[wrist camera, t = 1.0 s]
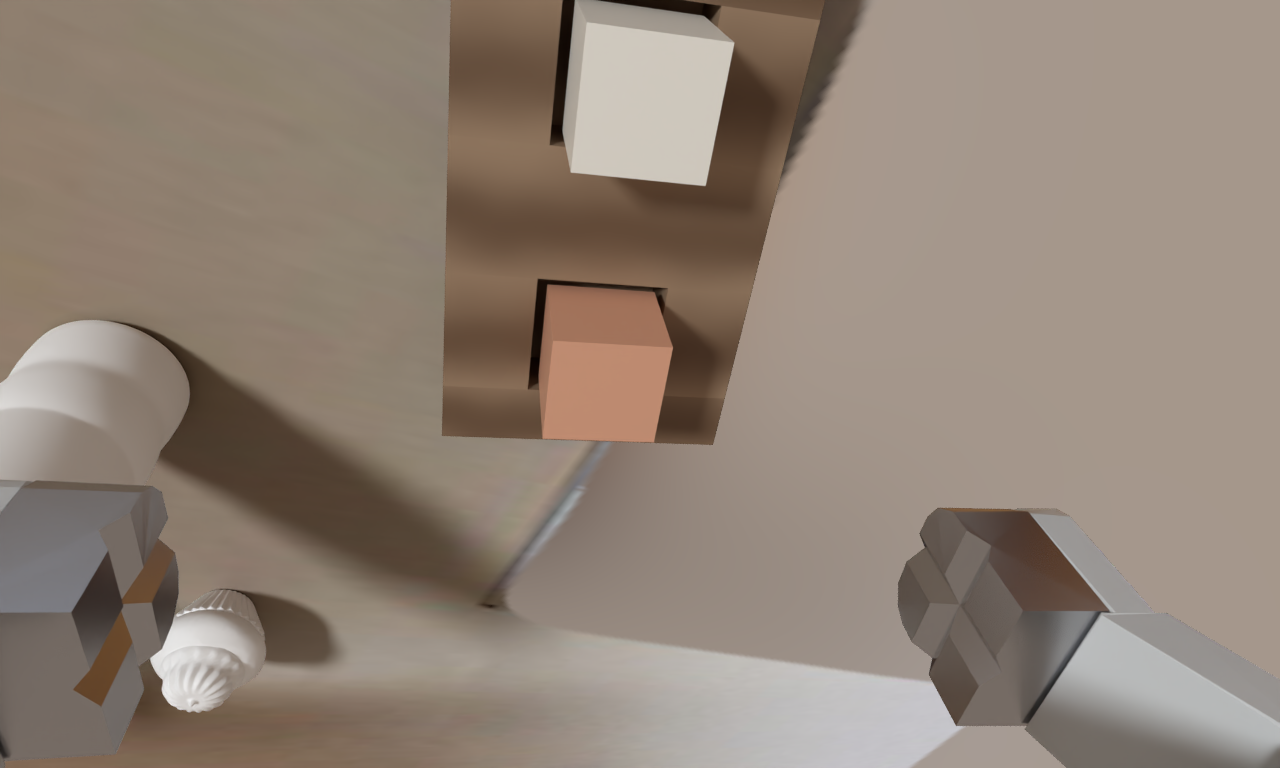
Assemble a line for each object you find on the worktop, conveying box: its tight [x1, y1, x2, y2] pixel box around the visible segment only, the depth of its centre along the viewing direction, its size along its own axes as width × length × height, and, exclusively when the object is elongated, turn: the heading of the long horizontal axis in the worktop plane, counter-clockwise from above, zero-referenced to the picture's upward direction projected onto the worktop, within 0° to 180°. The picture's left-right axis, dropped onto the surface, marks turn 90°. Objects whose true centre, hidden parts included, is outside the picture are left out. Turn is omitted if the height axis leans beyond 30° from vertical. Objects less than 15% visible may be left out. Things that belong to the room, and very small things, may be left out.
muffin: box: [150, 589, 266, 713], centre depth 47 cm, size 6×6×7 cm
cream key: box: [562, 0, 734, 186], centre depth 30 cm, size 5×5×5 cm
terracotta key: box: [538, 284, 673, 442], centre depth 36 cm, size 5×5×5 cm
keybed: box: [442, 0, 825, 445], centre depth 36 cm, size 24×14×4 cm, turn 171°
